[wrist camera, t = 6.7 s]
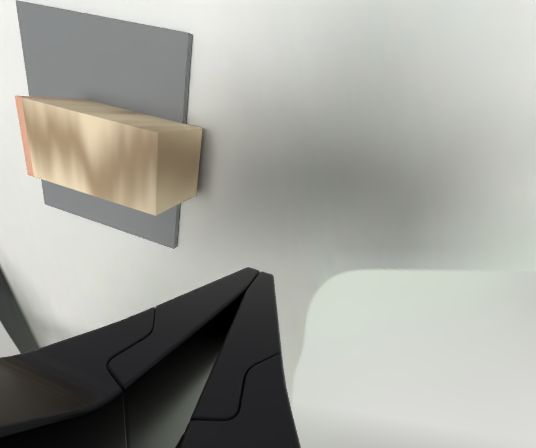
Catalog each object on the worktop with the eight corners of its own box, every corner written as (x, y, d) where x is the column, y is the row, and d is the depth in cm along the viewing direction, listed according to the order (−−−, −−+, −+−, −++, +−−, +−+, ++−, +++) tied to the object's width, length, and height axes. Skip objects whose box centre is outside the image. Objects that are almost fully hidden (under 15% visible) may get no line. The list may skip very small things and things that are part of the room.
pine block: (155, 215, 17) (28, 174, 19) (196, 194, 22) (90, 163, 24) (158, 132, 15) (14, 95, 17) (202, 128, 20) (85, 99, 22)
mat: (177, 246, 25) (173, 248, 24) (49, 202, 27) (44, 204, 27) (192, 34, 18) (188, 32, 18) (22, 2, 21) (15, 0, 20)
